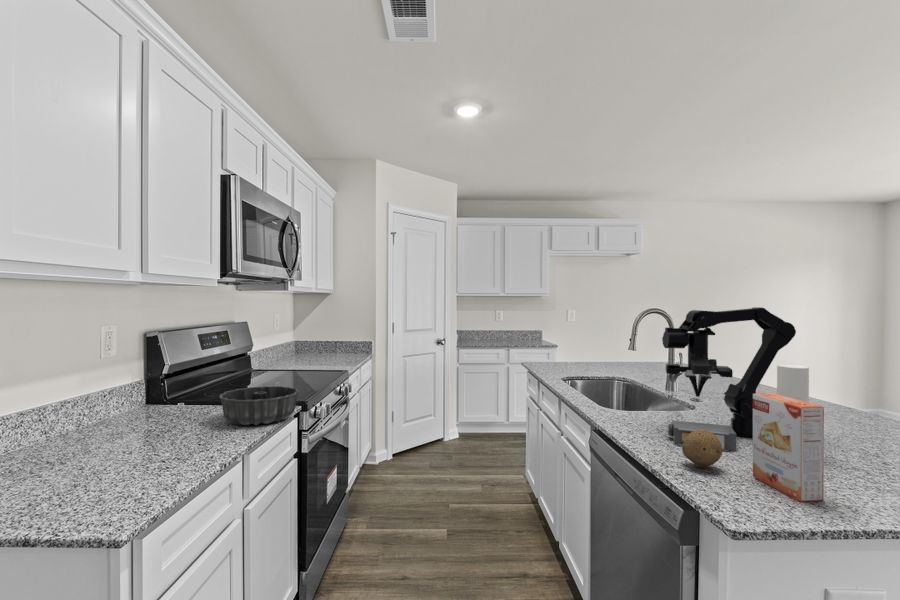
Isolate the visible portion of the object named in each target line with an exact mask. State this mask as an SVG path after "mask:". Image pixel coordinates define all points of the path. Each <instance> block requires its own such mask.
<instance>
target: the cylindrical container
mask: <svg viewBox="0 0 900 600" xmlns="http://www.w3.org/2000/svg"><path fill="white" fill-rule="evenodd" d="M809 383H810V367H808V366H806V365H799V364H797V365H796V364H786V363H785V364H777V365H776V394H779V395H782V396H786V397H790V398H793V399H797V400H800V401H804V402H808V403H810V399H809V397H810V394H809V393H810V384H809Z"/></svg>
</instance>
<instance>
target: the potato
mask: <svg viewBox="0 0 900 600" xmlns="http://www.w3.org/2000/svg"><path fill="white" fill-rule="evenodd" d="M681 451H682V454H683V456H684V457H685V458H686V459H687V460H689V461H690V462H691V463H692V464H693V465H695V466H696V467H699V468H700V469H706V468H709V467H711V466H712V465H714V464H716V463H717V462H718V461H719V460H720V459H721V458H722V456H723V451H722V445H721V443H720V441H719V439H718V438H717V437H716V436H715V435H714V434H713V433H712V432H710V431H707V430H703V429H697V430H695V431H693V432H691V433H690V434H689V435H688V436H687V438H686V440H685V442H684V443H683V446H681Z"/></svg>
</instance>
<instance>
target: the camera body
mask: <svg viewBox="0 0 900 600" xmlns="http://www.w3.org/2000/svg"><path fill="white" fill-rule="evenodd" d="M667 428H668V429H667V430H668V437H672V440H673V444H674V445H675V446H676V445H677V446H678V447H682V446H683V443H684V442H685V440H686V438H687V436H688V435H689V434H690V433H691V432H693V431H695V430H697V429H703V430H707V431H710V432H712V433H713V434H717V435H724V449H722V452H727V451H728V452H730V451H729V450H731V451H732V452H737V436H736V433H735V432H734V430H733V429H732V428H731V425H728V424H727V425H726V424H715V423H703V422H695V421H694V422H692V421H684V420H683V421H681V420H671V423H668V427H667Z"/></svg>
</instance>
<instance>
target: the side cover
mask: <svg viewBox="0 0 900 600" xmlns="http://www.w3.org/2000/svg"><path fill="white" fill-rule="evenodd" d="M714 435H715V436H716V437H717V438H718V439H719V441H720V443H721V445H722V449H724V435H717V434H714Z"/></svg>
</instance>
